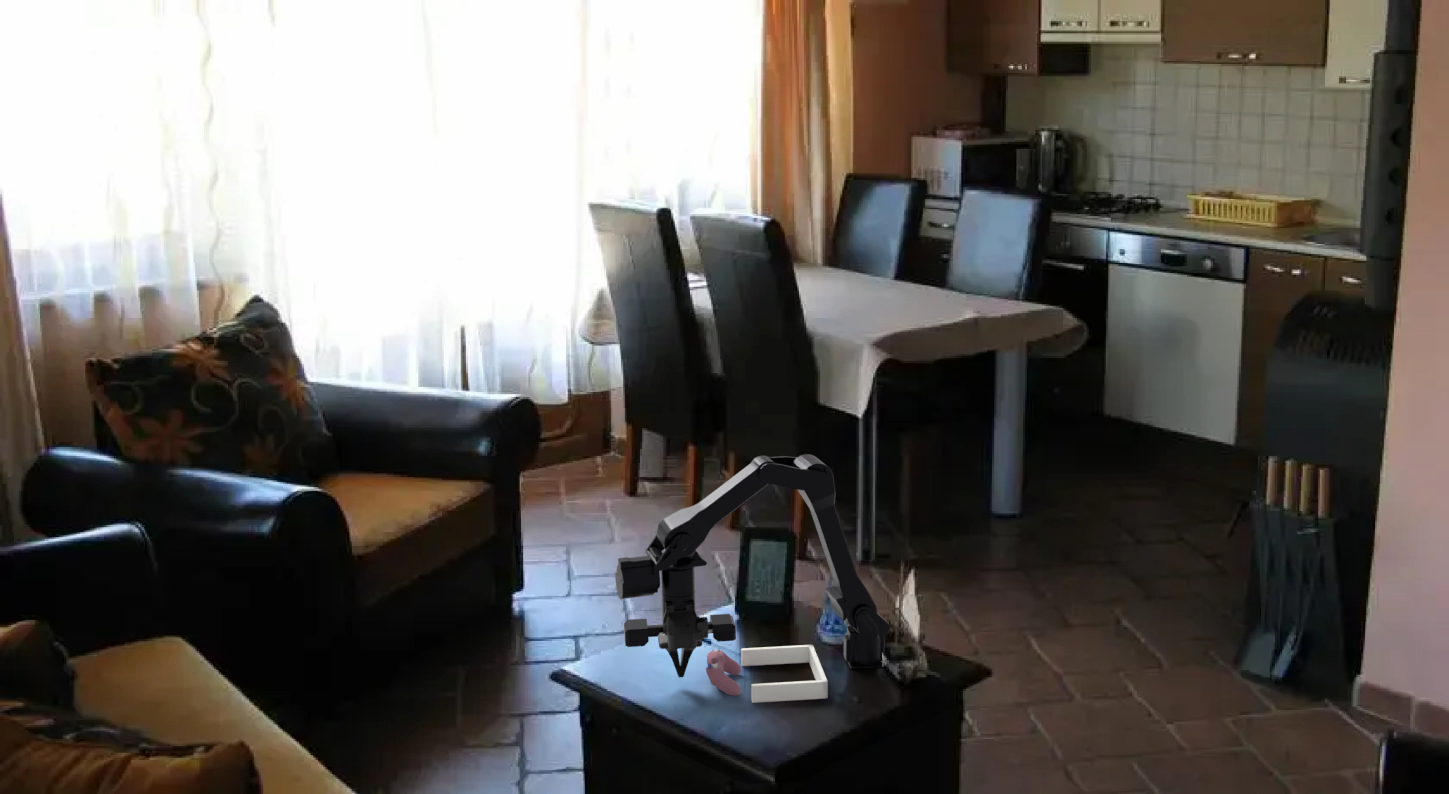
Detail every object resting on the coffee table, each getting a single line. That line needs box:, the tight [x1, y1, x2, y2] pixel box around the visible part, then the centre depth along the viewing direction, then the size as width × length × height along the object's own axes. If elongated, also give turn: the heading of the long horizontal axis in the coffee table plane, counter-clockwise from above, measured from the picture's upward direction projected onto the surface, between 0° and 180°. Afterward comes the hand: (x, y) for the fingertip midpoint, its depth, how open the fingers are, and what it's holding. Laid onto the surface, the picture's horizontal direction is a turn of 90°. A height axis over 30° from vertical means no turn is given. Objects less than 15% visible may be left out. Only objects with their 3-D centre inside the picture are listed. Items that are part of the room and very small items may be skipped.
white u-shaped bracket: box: [740, 644, 829, 704], centre depth 259 cm, size 13×16×3 cm
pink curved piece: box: [705, 648, 742, 697], centre depth 258 cm, size 10×5×7 cm, turn 179°
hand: (680, 676), depth 257 cm, fingers closed
